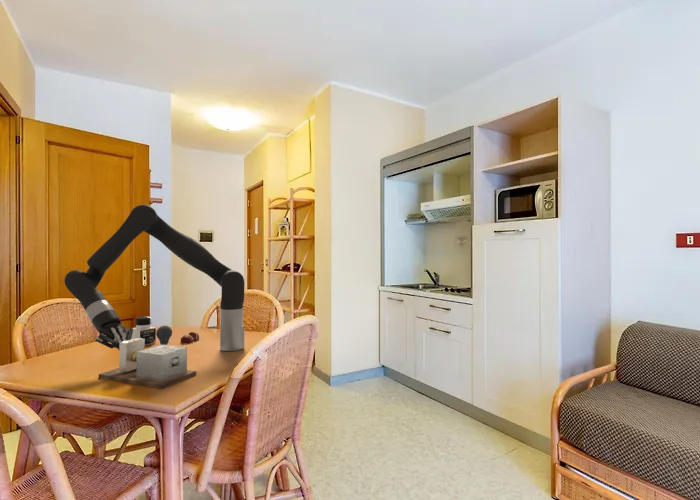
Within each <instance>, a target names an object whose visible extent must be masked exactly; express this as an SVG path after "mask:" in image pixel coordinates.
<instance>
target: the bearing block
mask: <svg viewBox="0 0 700 500" xmlns="http://www.w3.org/2000/svg"><path fill="white" fill-rule="evenodd" d="M172 358H175V359H179V364H178V365H172ZM187 370H188V347H185V346H177V345H170V344H167V345H161V344H159V345H157V346H152V347H150V348H145V350H141V351H138V352H137V375H136V378H142V379H148V380H154V381H160V382H163V381H166V380H168V379H171V378H173V377H176V376H179V375H181V374H184V373H186V372H187Z"/></svg>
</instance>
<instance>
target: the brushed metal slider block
mask: <svg viewBox="0 0 700 500" xmlns="http://www.w3.org/2000/svg"><path fill="white" fill-rule="evenodd" d="M145 347H146V345H145V339H144V338H136V339H132V338H131V340H127V341H123V342H120V345H119V350H118V351H119V352H118V353H119V355H118V356H119V358H118V359H119V361H118V364H119V365H118V366H119V367H118V368H119V371H121V372H128V371H131V370H134V369H137V352H138V351H141V350H145V349H146V348H145ZM178 364H179V359H175V358H172V365H178Z"/></svg>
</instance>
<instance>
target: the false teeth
mask: <svg viewBox="0 0 700 500" xmlns="http://www.w3.org/2000/svg"><path fill="white" fill-rule="evenodd" d="M194 341H200V335H199V334H198V333H197V332H194V331H190V332H189V333H187V334H183V336H182V337H181V338H180V343H183V344H184V343H186V344H193V343H194Z"/></svg>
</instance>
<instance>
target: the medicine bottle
mask: <svg viewBox="0 0 700 500" xmlns="http://www.w3.org/2000/svg"><path fill="white" fill-rule="evenodd" d="M135 319H136V320H135V327H131V328H132V329H133V333H132V338H131V339H136V338H144V339H145V346H148V345H153V344H156V341H157V336H156V332H157V328H156V327H154V326H152V322H153V321H152V319H153V318H152V317H151V316H140V317H136V318H135Z"/></svg>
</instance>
